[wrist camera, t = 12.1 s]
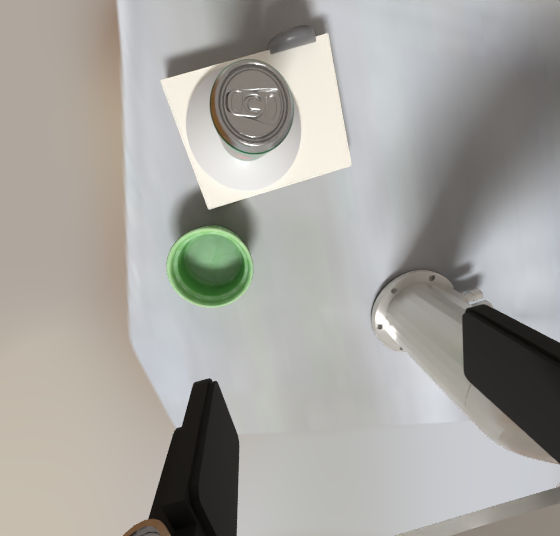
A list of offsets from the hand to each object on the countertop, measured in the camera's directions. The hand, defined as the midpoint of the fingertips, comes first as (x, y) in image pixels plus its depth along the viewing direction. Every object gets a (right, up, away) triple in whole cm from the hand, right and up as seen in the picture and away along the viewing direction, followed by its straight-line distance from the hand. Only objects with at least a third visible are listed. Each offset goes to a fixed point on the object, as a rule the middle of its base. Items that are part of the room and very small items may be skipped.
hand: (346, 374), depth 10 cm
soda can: (-6, +17, +17) cm, 25 cm away
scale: (-4, +19, +20) cm, 27 cm away
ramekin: (-10, +5, +23) cm, 26 cm away
